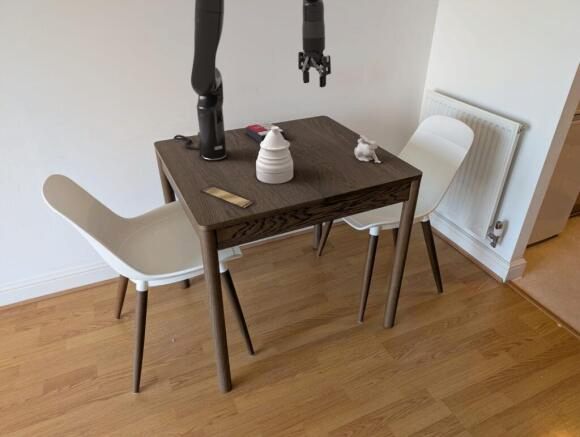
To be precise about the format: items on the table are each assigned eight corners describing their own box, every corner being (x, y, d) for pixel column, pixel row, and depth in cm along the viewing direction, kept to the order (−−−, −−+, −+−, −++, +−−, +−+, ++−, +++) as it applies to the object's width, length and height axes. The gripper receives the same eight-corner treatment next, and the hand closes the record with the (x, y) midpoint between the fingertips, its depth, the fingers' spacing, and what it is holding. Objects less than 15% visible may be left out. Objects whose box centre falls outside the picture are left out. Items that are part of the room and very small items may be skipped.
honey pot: (296, 181, 145) (297, 130, 135) (259, 185, 142) (257, 133, 133) (289, 166, 155) (289, 118, 146) (254, 169, 153) (251, 120, 144)
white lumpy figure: (381, 162, 158) (384, 138, 153) (366, 167, 155) (368, 142, 150) (360, 152, 167) (363, 128, 162) (345, 156, 163) (347, 132, 158)
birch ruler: (203, 191, 139) (203, 190, 138) (212, 186, 141) (212, 186, 141) (244, 208, 129) (244, 207, 129) (253, 203, 132) (252, 202, 132)
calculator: (268, 121, 187) (285, 129, 176) (268, 130, 189) (285, 139, 178) (245, 125, 183) (261, 134, 171) (246, 135, 185) (261, 144, 173)
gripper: (291, 34, 144) (293, 83, 152) (319, 38, 134) (320, 90, 142) (308, 31, 148) (309, 79, 156) (336, 35, 138) (336, 86, 146)
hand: (314, 84), depth 149 cm, fingers open, 8 cm apart
